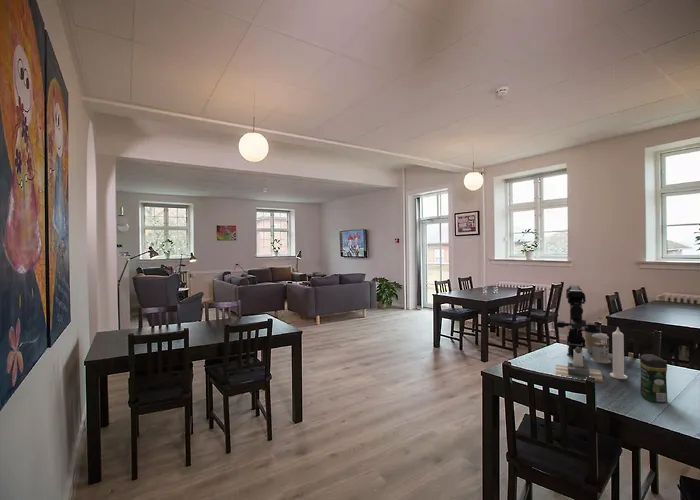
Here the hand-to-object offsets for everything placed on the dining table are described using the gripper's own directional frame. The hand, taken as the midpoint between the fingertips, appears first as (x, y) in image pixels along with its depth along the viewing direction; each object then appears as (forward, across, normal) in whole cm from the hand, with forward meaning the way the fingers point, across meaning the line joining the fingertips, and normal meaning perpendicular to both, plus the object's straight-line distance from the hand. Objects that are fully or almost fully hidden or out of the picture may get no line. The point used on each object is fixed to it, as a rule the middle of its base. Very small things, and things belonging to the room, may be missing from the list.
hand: (576, 340), depth 201 cm
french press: (+13, +12, +14) cm, 23 cm away
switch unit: (+13, 0, -17) cm, 21 cm away
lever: (+9, 0, -17) cm, 19 cm away
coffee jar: (+13, +27, -36) cm, 47 cm away
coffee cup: (+13, +9, +29) cm, 33 cm away
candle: (+13, +17, -12) cm, 25 cm away
